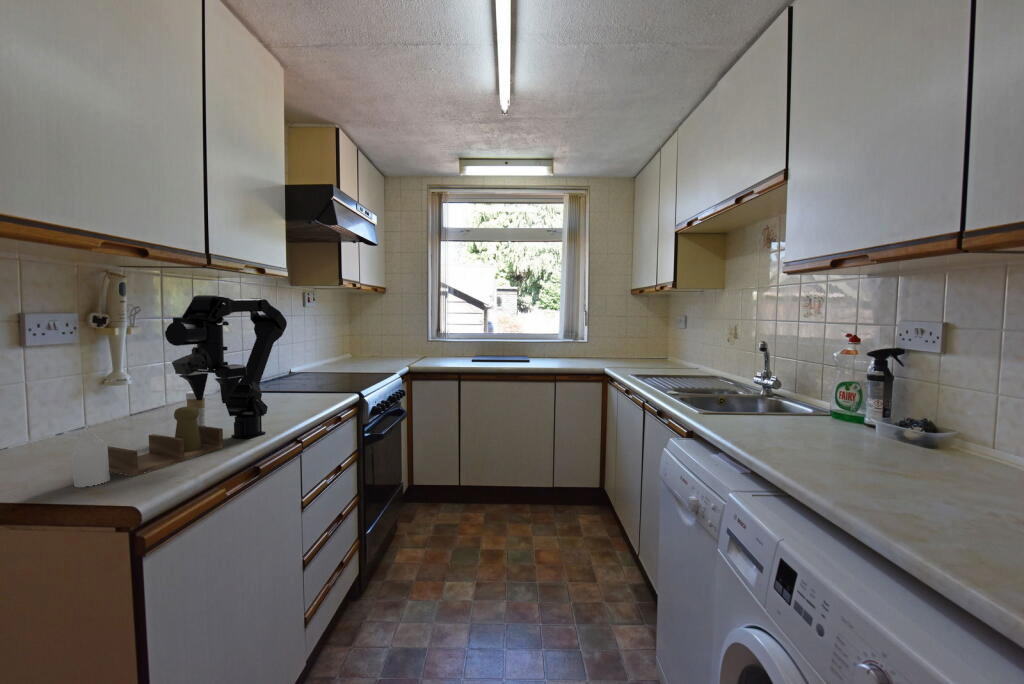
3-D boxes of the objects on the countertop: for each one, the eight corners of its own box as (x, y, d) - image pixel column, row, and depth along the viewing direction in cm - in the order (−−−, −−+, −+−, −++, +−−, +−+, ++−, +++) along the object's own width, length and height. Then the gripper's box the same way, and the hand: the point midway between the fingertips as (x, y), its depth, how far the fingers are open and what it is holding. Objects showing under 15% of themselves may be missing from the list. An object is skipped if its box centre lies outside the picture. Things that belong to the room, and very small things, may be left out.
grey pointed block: (114, 425, 92) (85, 432, 87) (117, 478, 93) (88, 489, 88) (91, 423, 93) (60, 430, 88) (93, 476, 94) (64, 486, 88)
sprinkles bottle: (183, 438, 123) (181, 392, 122) (196, 433, 128) (195, 389, 127) (197, 439, 122) (195, 393, 122) (210, 434, 127) (209, 390, 126)
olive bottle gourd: (207, 446, 113) (206, 405, 113) (186, 453, 107) (185, 410, 107) (188, 444, 114) (187, 404, 114) (166, 451, 108) (165, 409, 108)
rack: (193, 444, 118) (193, 424, 117) (223, 448, 114) (222, 428, 114) (100, 470, 98) (99, 446, 97) (133, 476, 94) (132, 452, 94)
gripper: (151, 343, 107) (154, 404, 108) (205, 346, 101) (207, 411, 102) (196, 341, 117) (198, 397, 118) (247, 343, 112) (249, 402, 113)
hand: (212, 401), depth 113 cm, fingers open, 9 cm apart
